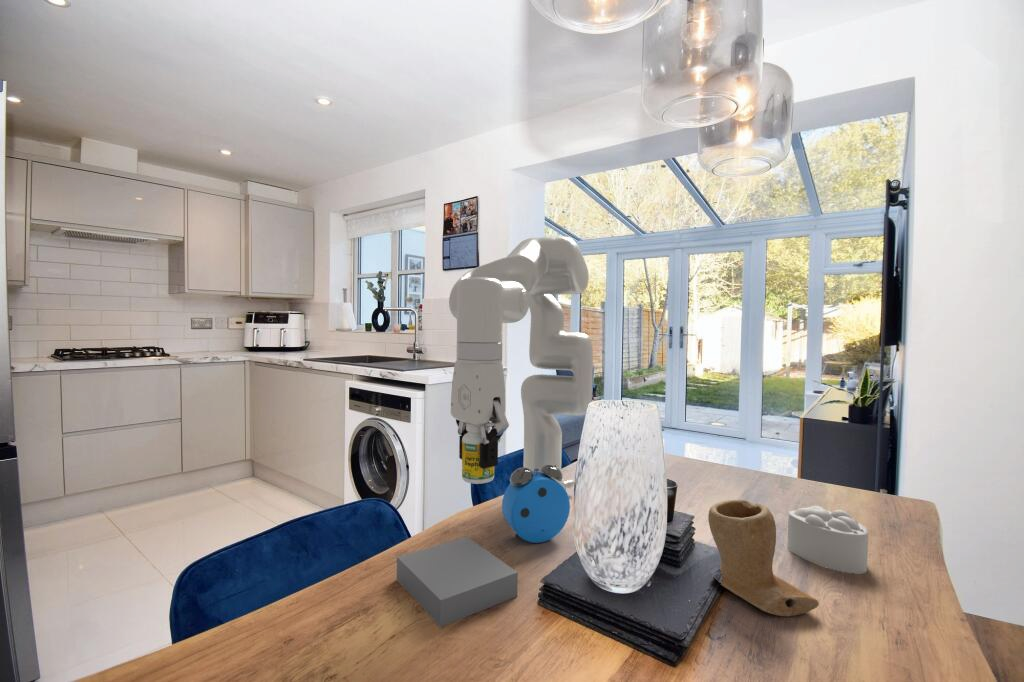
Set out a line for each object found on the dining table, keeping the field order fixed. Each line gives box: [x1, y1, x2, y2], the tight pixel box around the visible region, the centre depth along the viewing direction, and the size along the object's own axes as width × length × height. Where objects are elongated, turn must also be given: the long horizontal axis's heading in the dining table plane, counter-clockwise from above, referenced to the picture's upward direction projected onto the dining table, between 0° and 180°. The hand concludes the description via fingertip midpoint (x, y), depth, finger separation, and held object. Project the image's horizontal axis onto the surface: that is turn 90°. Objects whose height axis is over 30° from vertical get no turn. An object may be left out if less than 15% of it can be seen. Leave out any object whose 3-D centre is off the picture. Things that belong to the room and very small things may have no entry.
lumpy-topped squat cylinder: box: [786, 505, 869, 575], centre depth 94 cm, size 10×13×9 cm
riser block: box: [396, 536, 519, 628], centre depth 81 cm, size 14×16×4 cm
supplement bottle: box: [461, 421, 495, 485], centre depth 80 cm, size 5×5×10 cm
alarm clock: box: [501, 465, 571, 544], centre depth 100 cm, size 13×6×15 cm, turn 112°
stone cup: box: [707, 499, 820, 617], centre depth 80 cm, size 15×12×15 cm
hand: (478, 461), depth 80 cm, fingers closed on supplement bottle, 5 cm apart
